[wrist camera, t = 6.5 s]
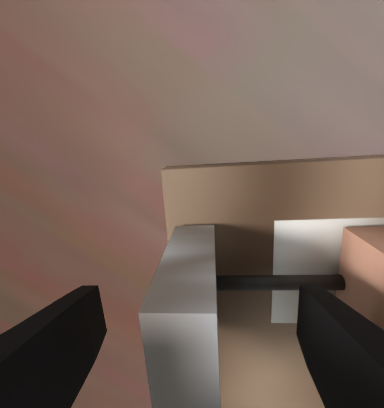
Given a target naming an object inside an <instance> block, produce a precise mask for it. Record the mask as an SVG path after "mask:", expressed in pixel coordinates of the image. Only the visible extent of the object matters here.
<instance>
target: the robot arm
mask: <svg viewBox="0 0 384 408" xmlns="http://www.w3.org/2000/svg"><path fill="white" fill-rule="evenodd" d="M106 332H107V329H106V324H105V319H104V313H103V308H102V303H101V298H100V293H99V288H98V286H81V287H79V288H77V289H75V290H73V291H72V292H70V293H68V294H66V295H65V296H63V297H61V298H60V299H58V300H57V301H55V302H53V303H52V304H50V305H49V306H47V307H45V308H44V309H42V310H40V311H39V312H37V313H36V314H34V315H32V316H31V317H29V318H27V319H26V320H24V321H23V322H21V323H19V324H18V325H16V326H14V327H13V328H11V329H9V330H7V331H6V332H4V333H2V334H1V335H0V408H71V406H72V404H73V402H74V401H75V399H76V397H77V395H78V393H79V391H80V389H81V387H82V386H83V384H84V382H85V380H86V378H87V376H88V374H89V372H90V370H91V368H92V366H93V364H94V362H95V360H96V358H97V355H98V353H99V350H100V348H101V345H102V343H103V340H104V337H105V335H106ZM296 335H297V338H298V341H299V344H300V348H301V351H302V354H303V357H304V360H305V363H306V366H307V368H308V370H309V373H310V375H311V377H312V380H313V382H314V384H315V386H316V389H317V391H318V393H319V395H320V398H321V400H322V402H323V404H324V407H325V408H384V330H383V329H381V328H380V327H379V326H377V325H376V324H374V323H373V322H371V321H370V320H368V319H367V318H366V317H364V316H363V315H361V314H360V313H358V312H357V311H356V310H354V309H353V308H351V307H350V306H349V305H347V304H346V303H344V302H343V301H341V300H340V299H339V298H337V297H336V296H334V295H333V294H332V293H330V292H329V291H327V290H326V289H324V288H323V287H321V286H320V285H300V287H299V301H298V316H297V330H296Z"/></svg>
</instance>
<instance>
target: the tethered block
mask: <svg viewBox="0 0 384 408" xmlns="http://www.w3.org/2000/svg"><path fill="white" fill-rule="evenodd" d="M300 285H320V286H321V287H323V288H324V289H326V290H336V295H335V296H336V297H337V298H339V299H340V300H341V301H343V302H344V303H346V304H347V305H349V306H350V307H351V308H353V309H354V310H356V311H357V312H358V313H360V314H361V315H363V316H364V317H366V318H367V319H368V320H370V321H371V322H373V323H374V324H376V325H377V326H379V327H380V328H381V329H383V330H384V226H364V227H343V235H342V244H341V252H340V261H339V270H338V274H335V275H225V276H216V260H215V235H214V225H193V226H175V228H174V230H173V232H172V235H171V237H170V240H169V242H168V244H167V247H166V249H165V251H164V254H163V256H162V259H161V261H160V263H159V266H158V268H157V270H156V273H155V275H154V277H153V280H152V282H151V285H150V287H149V289H148V292H147V294H146V296H145V299H144V301H143V303H142V306H141V308H140V311H139V313H138V314H139V321H140V328H141V334H142V341H143V348H144V355H145V362H146V368H147V375H148V382H149V389H150V396H151V403H152V408H221V394H220V366H219V337H218V310H217V291H247V290H299V287H300Z"/></svg>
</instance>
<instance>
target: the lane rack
mask: <svg viewBox="0 0 384 408" xmlns="http://www.w3.org/2000/svg"><path fill="white" fill-rule="evenodd" d="M161 177H162V187H163V197H164V208H165V218H166V228H167V238H168V242H169V240H170V237H171V235H172V232H173V230H174V228H175V226H193V225H214V235H215V260H216V276H225V275H335V274H338V270H339V261H340V252H341V244H342V235H343V227H364V226H384V155H369V156H351V157H333V158H314V159H296V160H278V161H260V162H241V163H223V164H205V165H187V166H168V167H165V168H163V169H162V170H161ZM327 291H329V292H330V293H332V294H333V295H334V296H335V295H336V290H327ZM298 301H299V290H247V291H217V310H218V337H219V366H220V394H221V408H325V407H324V404H323V402H322V400H321V398H320V395H319V393H318V391H317V389H316V386H315V384H314V382H313V380H312V377H311V375H310V373H309V370H308V368H307V366H306V363H305V360H304V357H303V354H302V351H301V348H300V344H299V341H298V338H297V335H296V330H297V316H298Z"/></svg>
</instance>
